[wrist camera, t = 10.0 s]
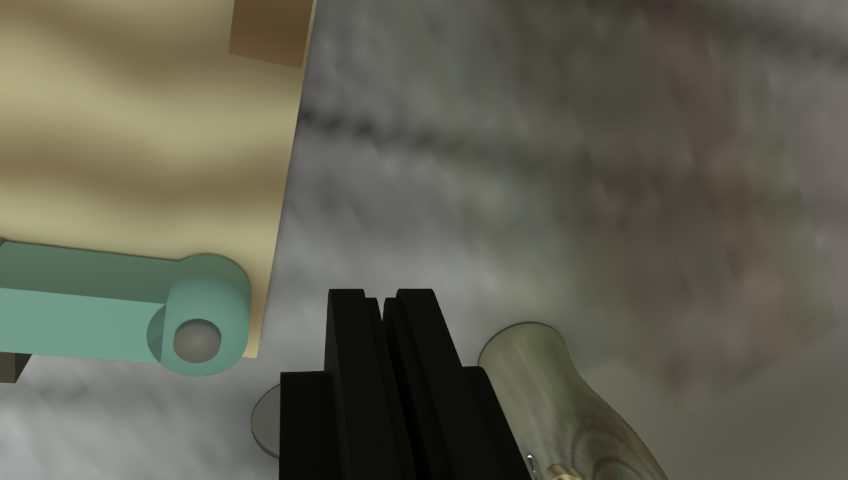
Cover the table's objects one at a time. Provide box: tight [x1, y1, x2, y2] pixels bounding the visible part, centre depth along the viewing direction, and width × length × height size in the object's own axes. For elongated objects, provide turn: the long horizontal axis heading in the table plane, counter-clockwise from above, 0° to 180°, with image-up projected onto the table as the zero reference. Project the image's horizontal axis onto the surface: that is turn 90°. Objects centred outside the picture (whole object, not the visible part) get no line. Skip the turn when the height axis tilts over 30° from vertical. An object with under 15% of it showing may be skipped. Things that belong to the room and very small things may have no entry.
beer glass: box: [478, 323, 669, 480], centre depth 35 cm, size 7×7×15 cm
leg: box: [0, 239, 252, 376], centre depth 29 cm, size 14×4×5 cm, turn 76°
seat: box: [0, 0, 317, 383], centre depth 27 cm, size 20×20×6 cm
